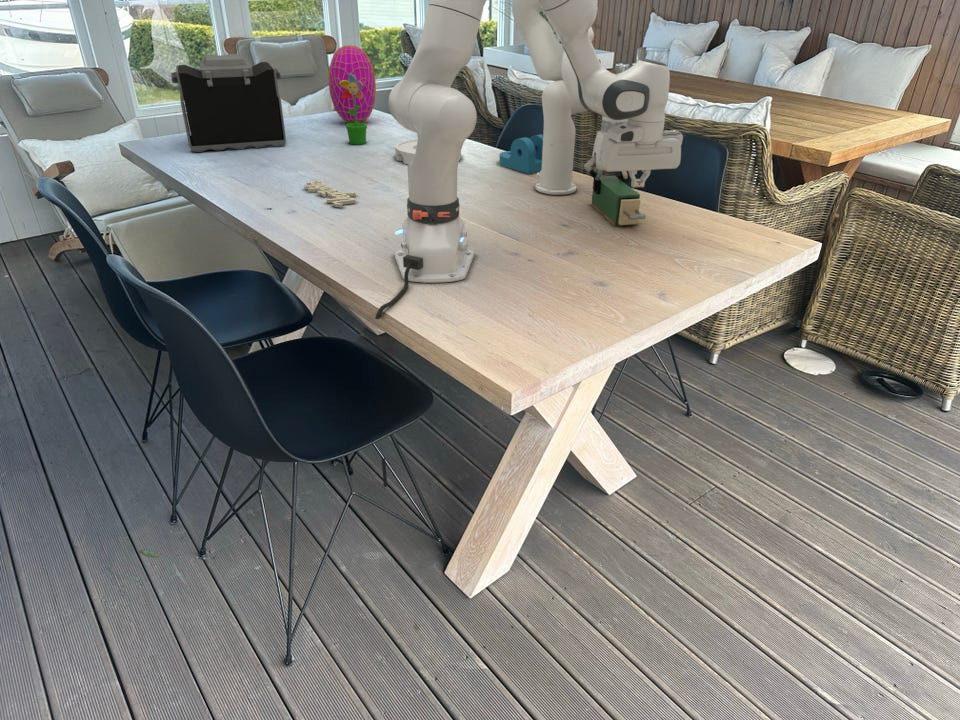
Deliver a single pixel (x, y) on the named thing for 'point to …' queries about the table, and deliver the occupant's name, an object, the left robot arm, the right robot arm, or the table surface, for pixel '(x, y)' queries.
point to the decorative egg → (361, 68)
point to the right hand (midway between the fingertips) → (608, 191)
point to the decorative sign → (330, 193)
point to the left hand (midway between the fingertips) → (637, 186)
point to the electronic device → (230, 103)
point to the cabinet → (612, 197)
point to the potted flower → (354, 129)
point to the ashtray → (407, 150)
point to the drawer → (629, 211)
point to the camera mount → (524, 155)
